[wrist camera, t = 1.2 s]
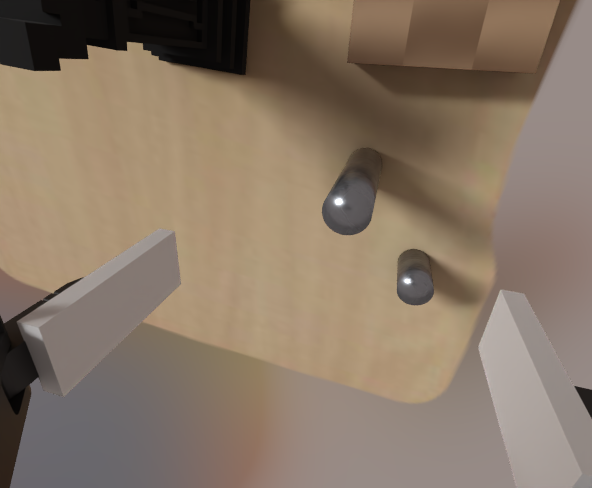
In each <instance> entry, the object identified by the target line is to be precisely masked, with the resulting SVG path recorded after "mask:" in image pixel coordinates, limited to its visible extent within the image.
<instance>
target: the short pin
mask: <svg viewBox="0 0 592 488" xmlns="http://www.w3.org/2000/svg"><path fill="white" fill-rule="evenodd" d="M397 294H398V296H399V298H400V299H401V300H402V301H403V302H405V303H407V304H410V305H422V304H425V303H427V302H428V301H429V300H430V299H431V298H432V296H433V294H434V288H433V281H432V273H431V266H430V260H429V257H428V256H427V254H426V253H424V252H423V251H421V250H417V249H410V250H407V251H405V252H403V253H402V254H401V255H400V256H399V258H398V268H397Z"/></svg>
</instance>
